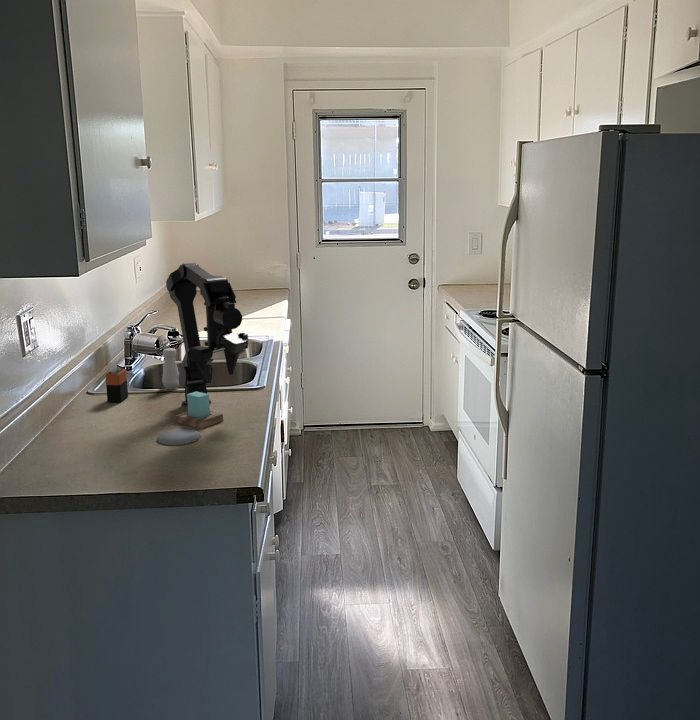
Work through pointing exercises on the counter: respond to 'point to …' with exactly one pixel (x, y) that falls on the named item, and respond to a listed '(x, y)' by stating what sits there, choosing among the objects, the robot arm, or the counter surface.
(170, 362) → the salt shaker
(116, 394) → the battery
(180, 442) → the coaster
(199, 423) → the brown flat piece
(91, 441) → the counter surface
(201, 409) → the plug
